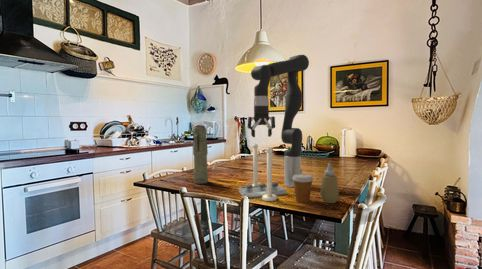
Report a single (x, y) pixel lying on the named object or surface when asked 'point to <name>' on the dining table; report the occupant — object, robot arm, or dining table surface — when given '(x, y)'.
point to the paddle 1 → (249, 186)
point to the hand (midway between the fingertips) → (261, 136)
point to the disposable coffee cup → (302, 187)
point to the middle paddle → (262, 185)
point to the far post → (255, 165)
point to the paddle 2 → (274, 184)
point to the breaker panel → (261, 191)
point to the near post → (269, 178)
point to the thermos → (200, 155)
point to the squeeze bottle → (329, 186)
